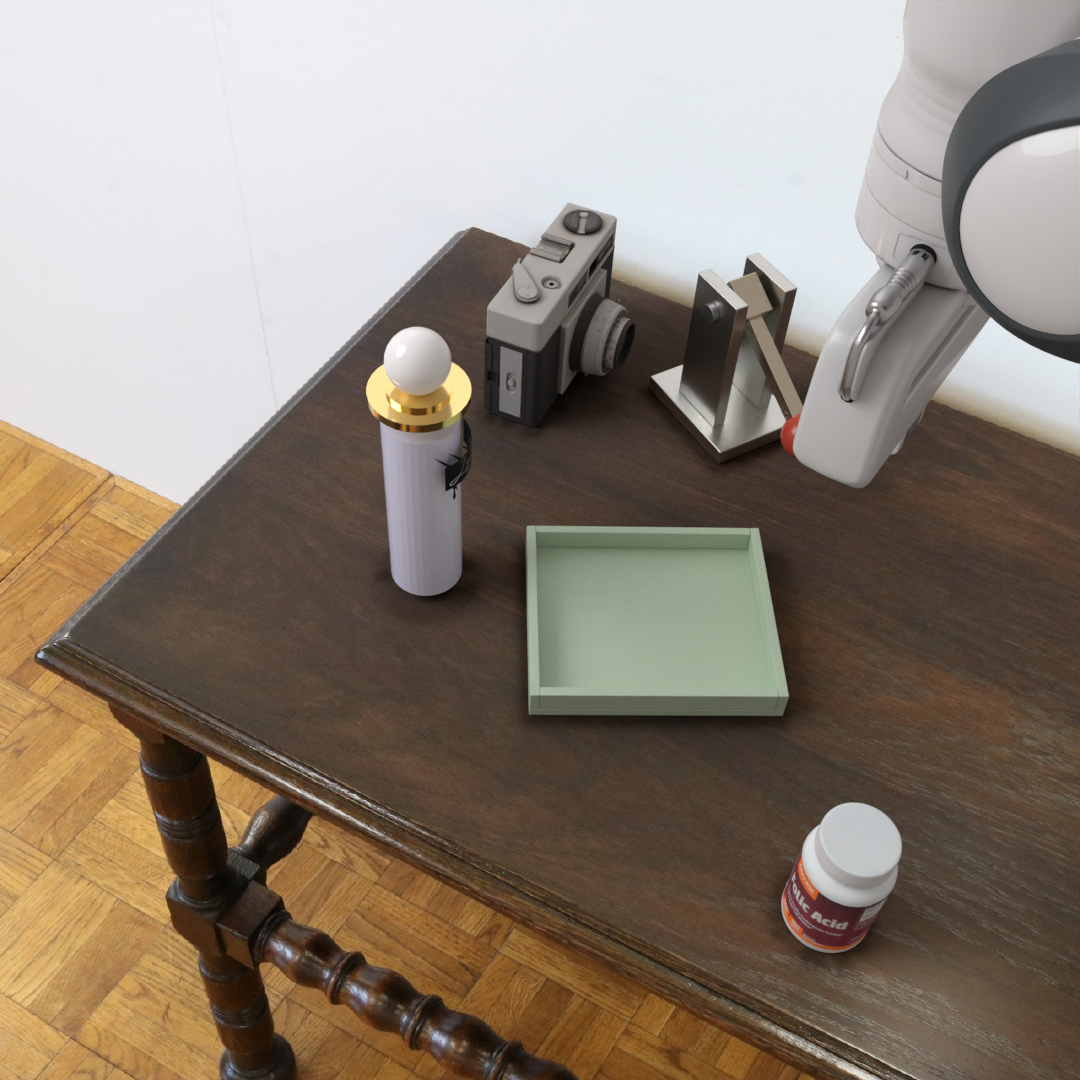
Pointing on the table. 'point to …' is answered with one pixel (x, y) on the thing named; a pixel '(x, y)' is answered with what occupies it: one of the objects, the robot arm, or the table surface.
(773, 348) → the lever
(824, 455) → the robot arm
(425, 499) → the perfume bottle
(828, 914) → the pill bottle
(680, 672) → the tray
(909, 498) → the table surface
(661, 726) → the table surface
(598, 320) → the camera
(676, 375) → the bracket
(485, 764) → the table surface
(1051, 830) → the table surface
